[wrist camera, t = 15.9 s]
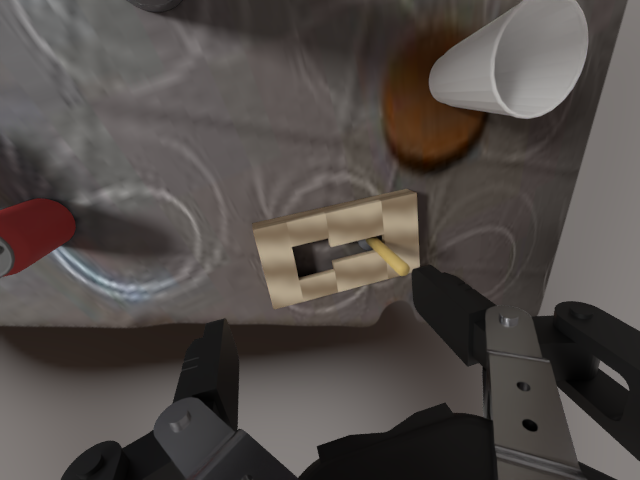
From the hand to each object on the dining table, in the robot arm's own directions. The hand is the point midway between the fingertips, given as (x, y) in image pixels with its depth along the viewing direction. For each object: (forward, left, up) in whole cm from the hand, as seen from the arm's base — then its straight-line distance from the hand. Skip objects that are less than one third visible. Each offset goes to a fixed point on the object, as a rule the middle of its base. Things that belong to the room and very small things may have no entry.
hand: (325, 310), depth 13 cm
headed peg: (+14, +14, -36) cm, 41 cm away
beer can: (0, -30, -36) cm, 47 cm away
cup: (-9, +30, -36) cm, 48 cm away
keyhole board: (+14, +9, -36) cm, 40 cm away
